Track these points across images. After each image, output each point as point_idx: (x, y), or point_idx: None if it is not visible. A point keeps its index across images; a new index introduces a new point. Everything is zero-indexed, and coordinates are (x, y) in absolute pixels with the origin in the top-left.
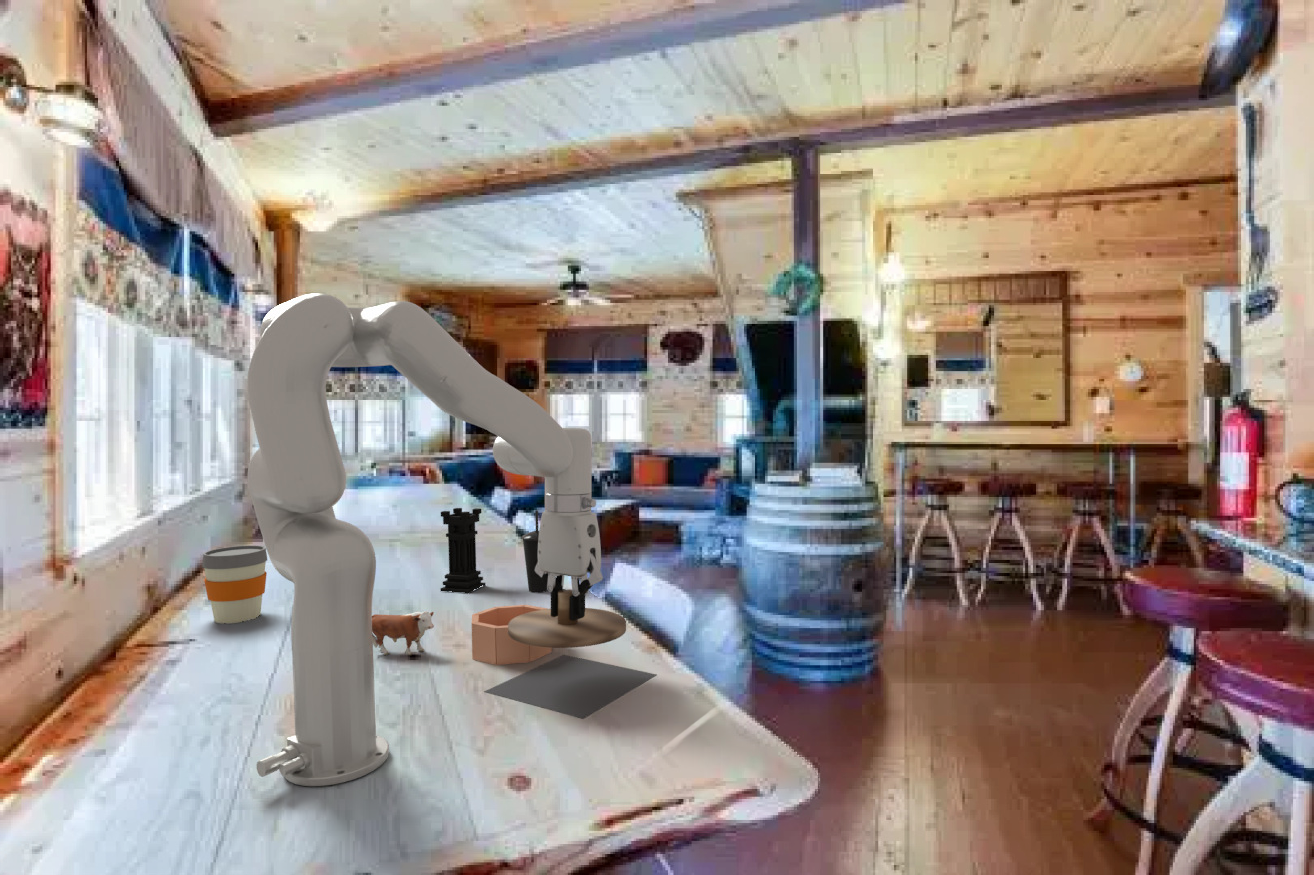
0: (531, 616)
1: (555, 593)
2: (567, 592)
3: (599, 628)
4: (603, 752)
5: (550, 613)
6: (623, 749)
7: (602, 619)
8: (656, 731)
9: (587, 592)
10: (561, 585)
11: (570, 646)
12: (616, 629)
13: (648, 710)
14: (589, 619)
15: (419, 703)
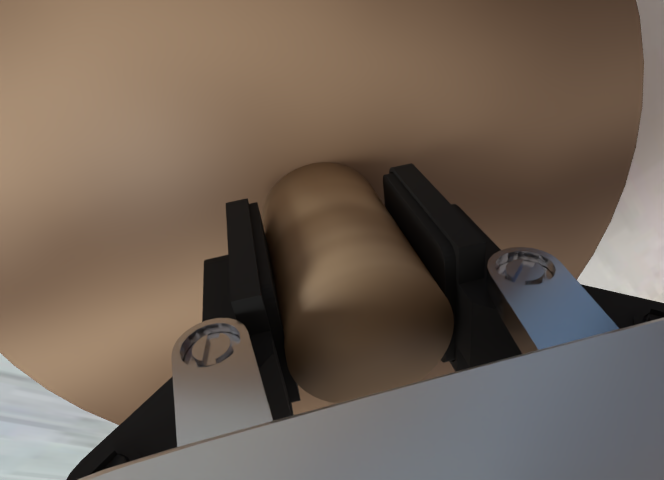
0: (54, 297)
1: (299, 399)
2: (388, 356)
3: (537, 167)
4: (586, 274)
5: (54, 174)
6: (617, 244)
7: (448, 13)
8: (656, 145)
9: (530, 250)
10: (261, 366)
11: None
12: (625, 115)
13: None
14: (376, 78)
15: (72, 417)
